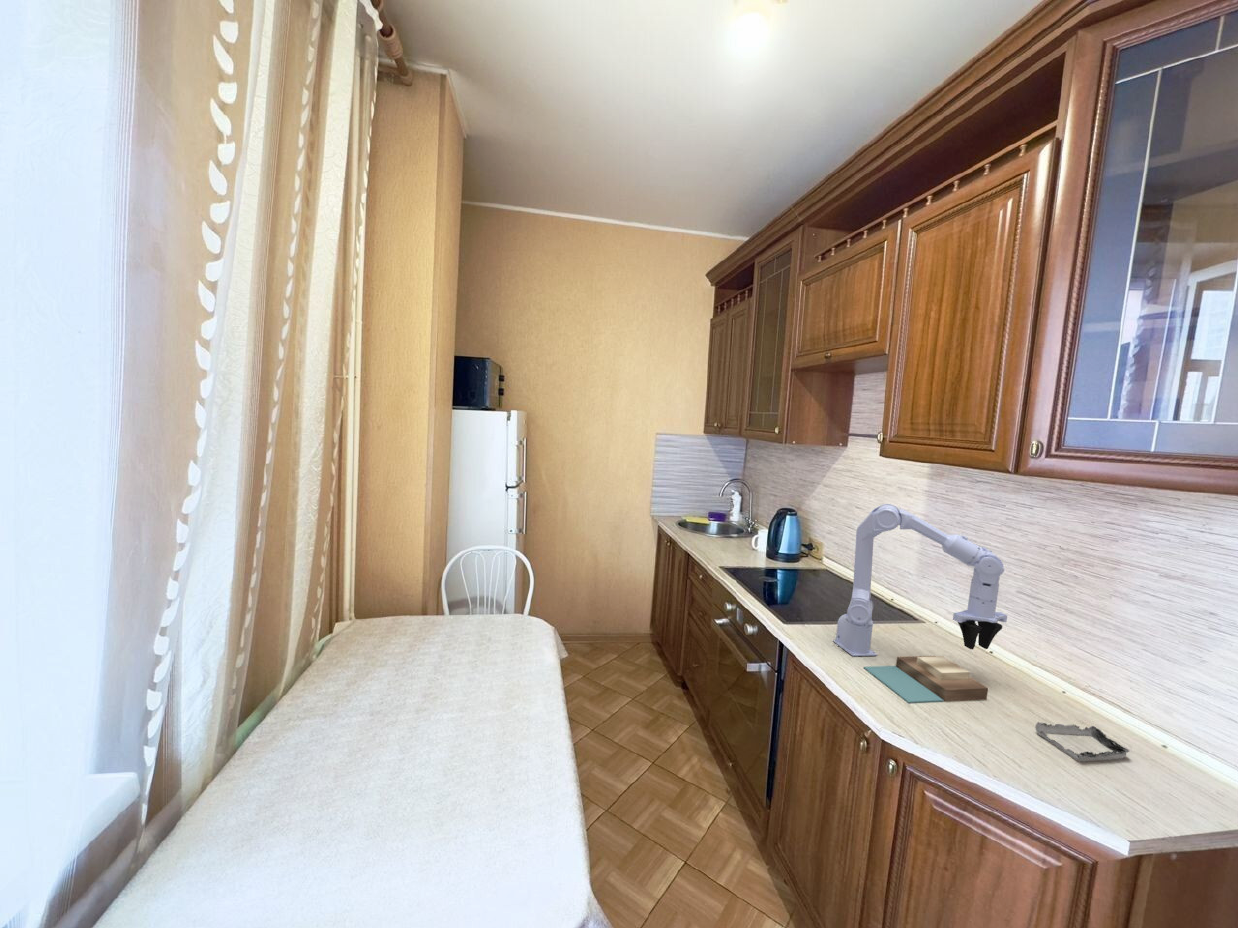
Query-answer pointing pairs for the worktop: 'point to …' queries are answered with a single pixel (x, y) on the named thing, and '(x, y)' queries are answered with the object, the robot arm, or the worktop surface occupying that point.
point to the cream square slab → (943, 668)
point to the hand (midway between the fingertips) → (975, 647)
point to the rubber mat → (903, 684)
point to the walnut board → (942, 682)
